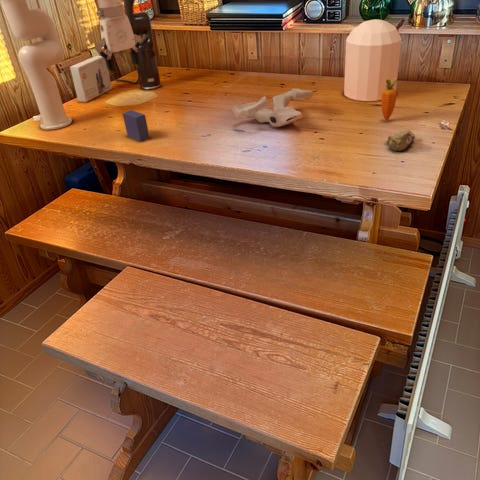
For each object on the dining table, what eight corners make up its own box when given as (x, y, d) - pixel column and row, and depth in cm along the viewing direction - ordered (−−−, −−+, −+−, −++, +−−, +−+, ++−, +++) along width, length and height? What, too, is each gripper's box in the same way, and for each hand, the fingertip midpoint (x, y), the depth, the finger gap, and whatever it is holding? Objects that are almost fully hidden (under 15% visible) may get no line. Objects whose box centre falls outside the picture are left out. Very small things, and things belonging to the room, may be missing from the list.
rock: (408, 140, 153) (379, 139, 152) (414, 122, 149) (384, 120, 148) (421, 154, 144) (391, 153, 143) (428, 135, 140) (396, 133, 139)
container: (365, 104, 181) (370, 27, 165) (333, 91, 197) (335, 20, 181) (407, 93, 187) (416, 18, 171) (373, 81, 203) (378, 12, 188)
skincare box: (87, 102, 214) (77, 67, 204) (78, 102, 215) (68, 66, 206) (113, 88, 229) (105, 54, 220) (104, 88, 231) (96, 54, 222)
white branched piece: (230, 133, 167) (227, 101, 161) (244, 110, 188) (241, 81, 182) (308, 133, 161) (308, 99, 155) (313, 109, 182) (314, 78, 176)
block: (140, 141, 169) (135, 118, 164) (127, 136, 175) (122, 113, 170) (149, 138, 171) (145, 114, 166) (136, 132, 177) (131, 110, 172)
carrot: (394, 118, 167) (398, 76, 158) (393, 123, 163) (397, 80, 154) (379, 117, 168) (383, 75, 160) (378, 122, 165) (382, 80, 156)
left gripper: (94, 18, 142) (107, 75, 151) (140, 8, 151) (150, 62, 161) (82, 17, 146) (96, 72, 156) (128, 7, 156) (138, 60, 165)
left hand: (123, 67), depth 158 cm, fingers open, 9 cm apart
